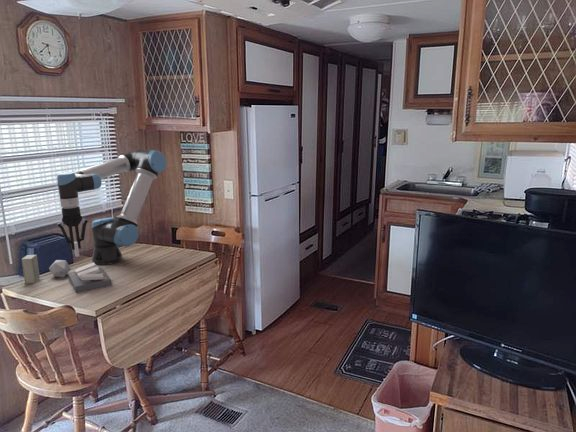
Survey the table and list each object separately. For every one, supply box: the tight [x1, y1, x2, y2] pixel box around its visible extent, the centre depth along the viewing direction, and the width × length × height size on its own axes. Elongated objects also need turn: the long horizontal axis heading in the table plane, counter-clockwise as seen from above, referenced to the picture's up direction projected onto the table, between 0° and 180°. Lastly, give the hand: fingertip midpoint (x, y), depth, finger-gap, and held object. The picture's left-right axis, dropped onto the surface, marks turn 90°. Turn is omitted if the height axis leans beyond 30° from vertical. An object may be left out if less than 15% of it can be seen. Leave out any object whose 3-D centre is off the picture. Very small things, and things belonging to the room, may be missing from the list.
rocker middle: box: [77, 266, 100, 279], centre depth 202 cm, size 4×9×1 cm, turn 124°
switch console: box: [67, 267, 113, 294], centre depth 202 cm, size 21×15×4 cm
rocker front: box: [80, 274, 104, 280], centre depth 196 cm, size 4×9×1 cm, turn 124°
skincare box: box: [21, 254, 40, 284], centre depth 204 cm, size 6×4×12 cm
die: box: [48, 259, 72, 278], centre depth 211 cm, size 8×9×10 cm
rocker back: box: [74, 262, 97, 274], centre depth 207 cm, size 4×9×1 cm, turn 124°
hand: (77, 255), depth 204 cm, fingers closed
